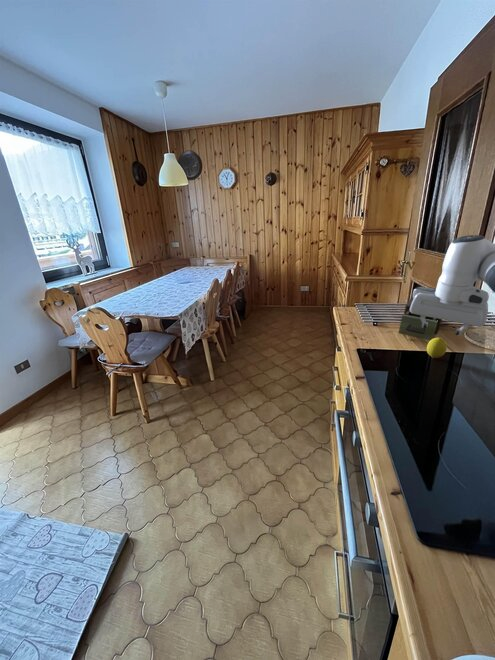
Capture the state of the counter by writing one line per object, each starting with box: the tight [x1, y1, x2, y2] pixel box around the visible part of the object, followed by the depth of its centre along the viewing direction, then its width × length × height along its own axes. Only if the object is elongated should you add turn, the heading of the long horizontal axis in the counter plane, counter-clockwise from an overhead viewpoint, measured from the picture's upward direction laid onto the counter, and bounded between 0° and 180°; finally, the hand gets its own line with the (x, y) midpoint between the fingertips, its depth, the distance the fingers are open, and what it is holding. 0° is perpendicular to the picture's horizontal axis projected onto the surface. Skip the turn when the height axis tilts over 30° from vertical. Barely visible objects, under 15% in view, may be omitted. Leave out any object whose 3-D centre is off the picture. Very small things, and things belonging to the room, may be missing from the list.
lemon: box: [426, 337, 448, 359], centre depth 96 cm, size 6×6×8 cm
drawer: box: [397, 308, 438, 341], centre depth 110 cm, size 18×12×8 cm, turn 142°
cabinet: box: [403, 295, 443, 336], centre depth 118 cm, size 15×13×10 cm
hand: (440, 330), depth 93 cm, fingers open, 8 cm apart
